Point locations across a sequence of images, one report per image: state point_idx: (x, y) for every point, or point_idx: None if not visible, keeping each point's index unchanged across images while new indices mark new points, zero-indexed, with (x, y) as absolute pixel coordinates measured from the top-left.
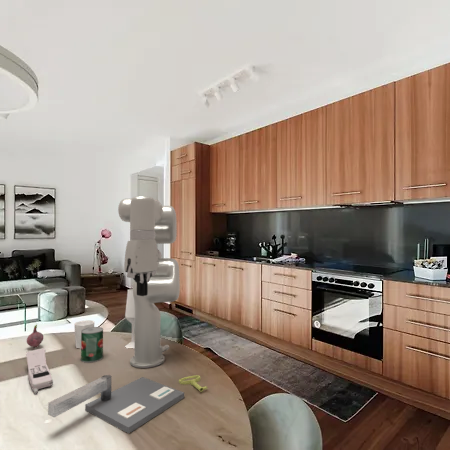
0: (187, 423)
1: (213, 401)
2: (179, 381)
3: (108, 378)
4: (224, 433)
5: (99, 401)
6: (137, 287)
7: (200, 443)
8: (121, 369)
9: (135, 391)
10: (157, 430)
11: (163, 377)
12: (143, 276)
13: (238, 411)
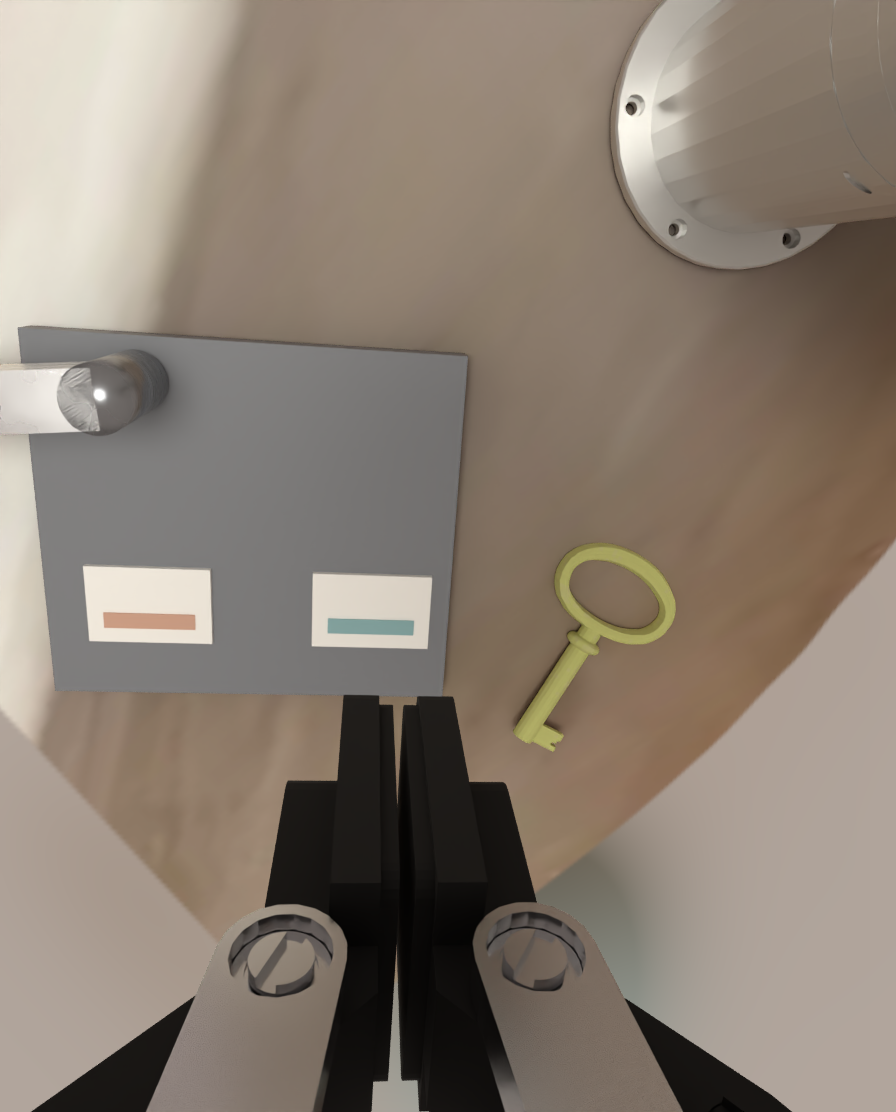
0: (277, 816)
1: None
2: (561, 566)
3: (94, 430)
4: None
5: None
6: (276, 877)
7: (209, 919)
8: (536, 39)
9: (302, 466)
10: (164, 753)
11: (575, 430)
12: (564, 1090)
13: None
